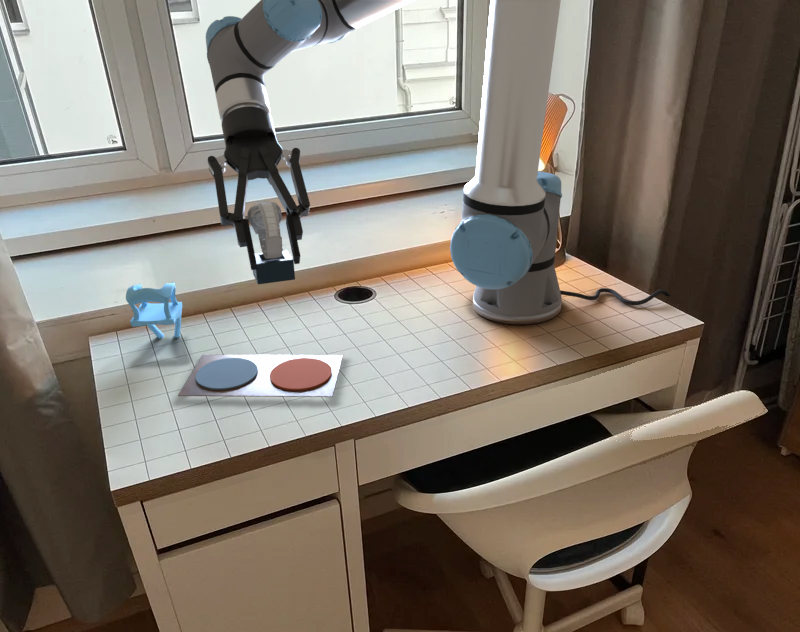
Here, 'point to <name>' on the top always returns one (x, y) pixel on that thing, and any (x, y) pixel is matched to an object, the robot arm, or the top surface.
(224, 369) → the slate pad
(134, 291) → the chair
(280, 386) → the terracotta pad
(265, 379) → the desk board
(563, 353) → the top surface
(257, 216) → the watch
